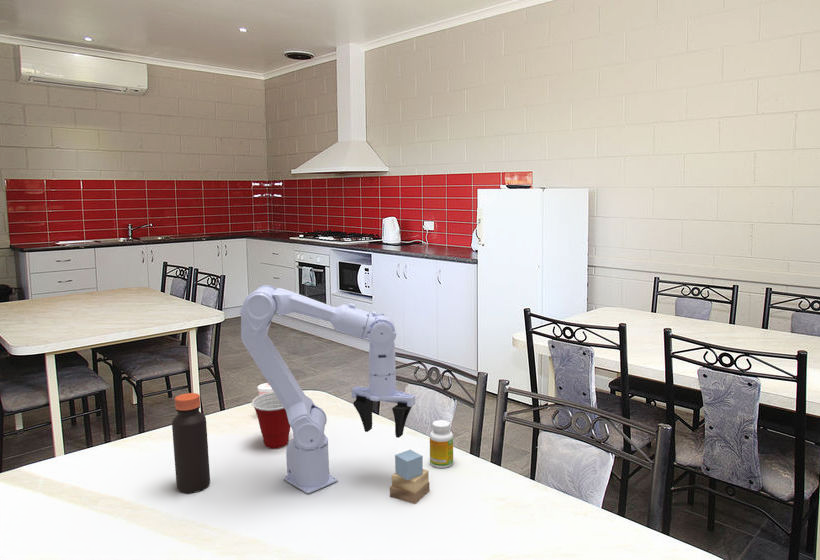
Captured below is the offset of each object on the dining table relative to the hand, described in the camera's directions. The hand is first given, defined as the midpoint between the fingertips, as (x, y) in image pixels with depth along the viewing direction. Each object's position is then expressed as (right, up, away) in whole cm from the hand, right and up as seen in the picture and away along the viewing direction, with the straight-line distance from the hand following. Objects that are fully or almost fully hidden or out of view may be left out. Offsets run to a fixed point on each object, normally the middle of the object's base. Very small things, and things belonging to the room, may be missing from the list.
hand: (383, 433), depth 126 cm
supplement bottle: (+13, -9, +8) cm, 18 cm away
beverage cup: (-34, -6, +39) cm, 52 cm away
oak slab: (+6, -9, -6) cm, 12 cm away
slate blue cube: (+5, -7, -6) cm, 11 cm away
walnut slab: (+6, -12, -5) cm, 14 cm away
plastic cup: (-28, -8, +20) cm, 35 cm away
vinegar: (-41, -11, -1) cm, 42 cm away
